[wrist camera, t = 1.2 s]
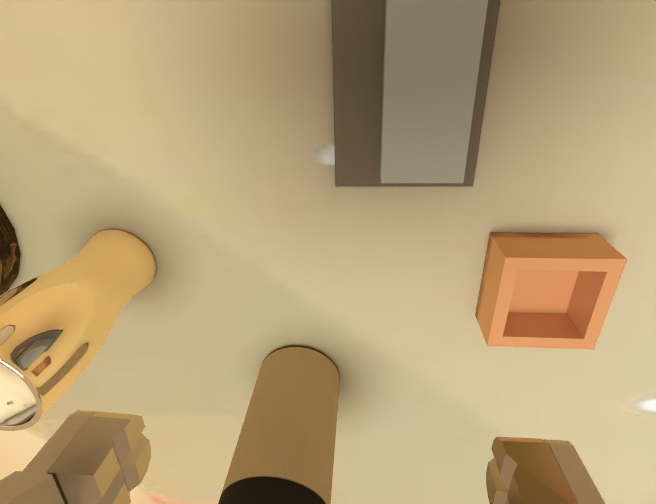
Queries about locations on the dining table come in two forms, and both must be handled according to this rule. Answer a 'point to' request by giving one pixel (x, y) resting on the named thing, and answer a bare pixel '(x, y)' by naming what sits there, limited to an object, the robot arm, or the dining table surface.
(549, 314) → the orange frame
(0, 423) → the beer glass
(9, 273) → the wood slice coaster
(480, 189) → the dining table surface
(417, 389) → the dining table surface
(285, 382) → the travel mug
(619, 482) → the dining table surface
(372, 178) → the mat
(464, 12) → the slate board
